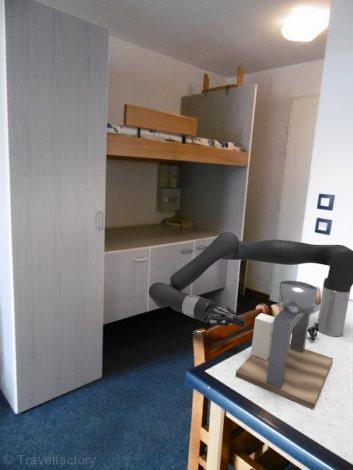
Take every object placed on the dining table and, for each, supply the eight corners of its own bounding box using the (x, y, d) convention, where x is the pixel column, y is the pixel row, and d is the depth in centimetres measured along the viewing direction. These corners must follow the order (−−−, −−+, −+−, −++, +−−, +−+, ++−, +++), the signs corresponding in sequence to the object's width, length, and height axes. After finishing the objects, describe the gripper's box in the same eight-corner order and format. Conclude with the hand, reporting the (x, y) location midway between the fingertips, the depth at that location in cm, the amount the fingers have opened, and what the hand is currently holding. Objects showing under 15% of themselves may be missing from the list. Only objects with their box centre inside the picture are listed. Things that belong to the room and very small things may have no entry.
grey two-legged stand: (283, 342, 111) (293, 273, 107) (314, 352, 106) (325, 280, 101) (255, 378, 90) (265, 293, 85) (292, 393, 84) (305, 304, 80)
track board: (267, 340, 115) (268, 336, 114) (332, 362, 103) (333, 358, 103) (235, 376, 93) (236, 371, 92) (313, 409, 81) (314, 404, 81)
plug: (256, 348, 105) (261, 313, 103) (275, 354, 102) (280, 318, 100) (250, 354, 101) (255, 318, 99) (270, 361, 98) (275, 324, 96)
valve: (278, 332, 122) (311, 343, 115) (281, 315, 121) (314, 326, 114) (285, 326, 127) (317, 337, 120) (287, 310, 126) (320, 320, 119)
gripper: (189, 302, 107) (237, 319, 98) (208, 292, 118) (254, 307, 109) (187, 324, 109) (234, 342, 99) (206, 312, 120) (251, 327, 110)
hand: (244, 323), depth 104 cm, fingers closed
